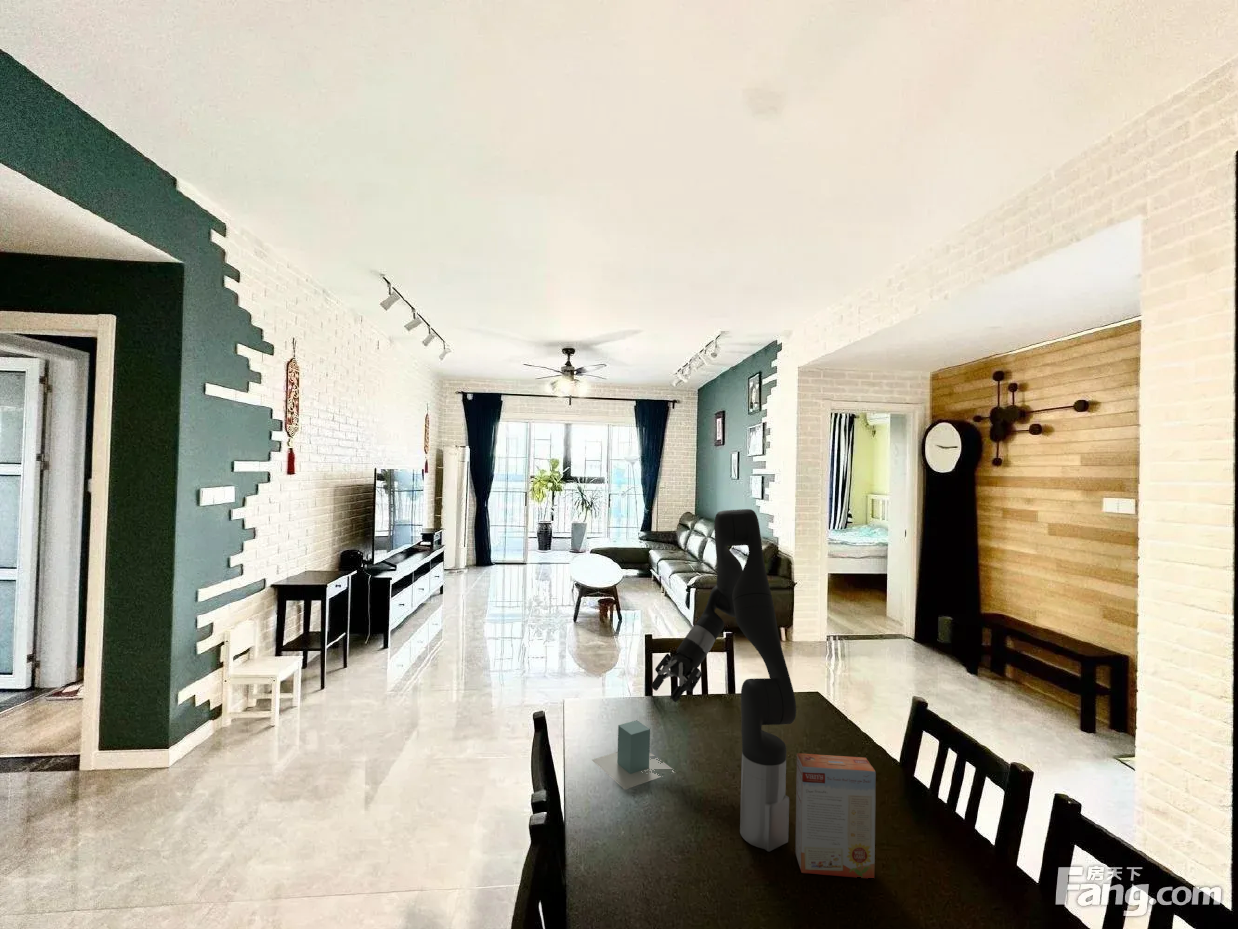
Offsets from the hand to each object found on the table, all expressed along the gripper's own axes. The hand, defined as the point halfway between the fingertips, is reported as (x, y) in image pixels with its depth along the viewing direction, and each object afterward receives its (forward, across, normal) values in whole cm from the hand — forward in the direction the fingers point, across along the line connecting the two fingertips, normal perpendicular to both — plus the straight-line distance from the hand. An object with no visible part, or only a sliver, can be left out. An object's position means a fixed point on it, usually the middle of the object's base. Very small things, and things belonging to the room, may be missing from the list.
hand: (662, 694), depth 151 cm
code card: (+18, 0, +5) cm, 19 cm away
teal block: (+18, 0, +5) cm, 19 cm away
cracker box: (+9, +51, +15) cm, 54 cm away
